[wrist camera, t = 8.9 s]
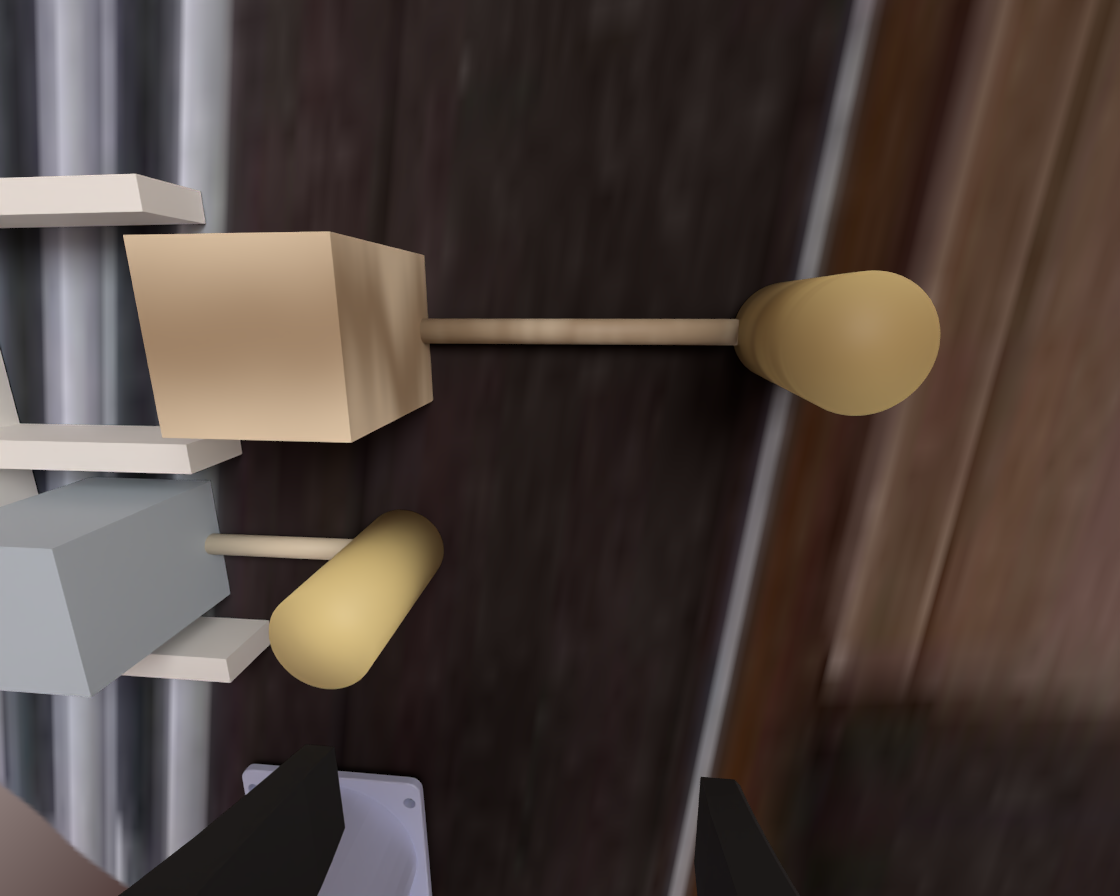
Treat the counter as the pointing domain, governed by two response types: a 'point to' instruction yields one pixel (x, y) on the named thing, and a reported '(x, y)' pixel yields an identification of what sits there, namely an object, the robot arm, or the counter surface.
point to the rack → (15, 449)
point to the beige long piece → (455, 335)
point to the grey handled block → (185, 584)
